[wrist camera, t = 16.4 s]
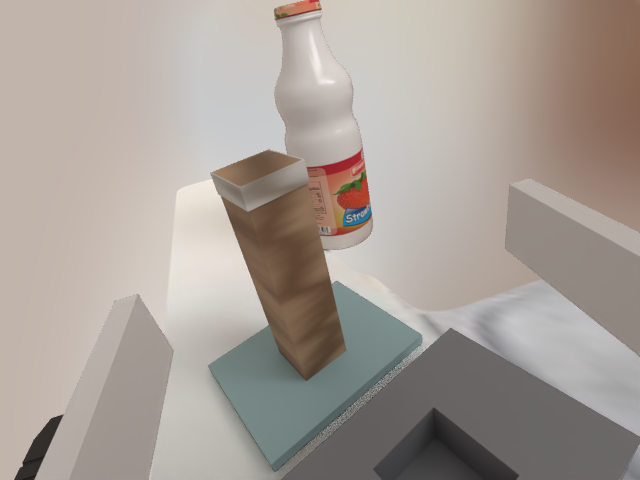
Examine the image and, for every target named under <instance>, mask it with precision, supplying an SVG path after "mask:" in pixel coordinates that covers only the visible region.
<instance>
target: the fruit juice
mask: <svg viewBox="0 0 640 480" xmlns="http://www.w3.org/2000/svg"><path fill="white" fill-rule="evenodd" d="M274 16H275V20H276V22H277V26H278V27H280V29H281V33H282V41H283V58H282V68H281V72H280V75H279V77H278V80H277V83H276V86H275V91H274V92H275V93H274V94H275V95H274V96H275V102H276V106H277V109H278V112H279V113H280V115H281V117H282V119H283V121H284V123H285V127H286V133H285V145H286V151H287V154H288V155H291V156H295V157H298V158H302V159H305V163H306V168H307V172H308V176H309V181H310V183H308V186H309V190H310V194H311V199H312V203H313V207H314V212H315V216H316V220H317V225H318V229H319V233H320V238H321V242H322V246H323V249H328V250H339V249H345V248H349V247H352V246H355V245H357V244H359V243H361V242H363V241H364V240H365V239H366V238H368V236H369V235H370V234H371V231H372V227H373V220H372V213H371V205H370V198H369V191H368V183H367V177H366V169H365V162H364V155H363V147H362V139H361V134H360V129H359V126H358V123H357V121H356V119H355V118H354V116H353V113H352V102H353V85H352V81H351V77H350V75H349V73H348V72H347V70H346V69H345V68H344V67H343V66H342V65H341V64H340V63H339V62H338V61H337V60H336V59H335V57H334V56H333V54H332V52H331V50H330V48H329V46H328V44H327V42H326V39H325V37H324V34H323V31H322V28H321V23H320V18H321V16H322V14H321V5H320V1H319V0H306V1H301V2H297V3H292V4H289V5H285V6H281V7H278V8H275V9H274Z"/></svg>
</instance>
